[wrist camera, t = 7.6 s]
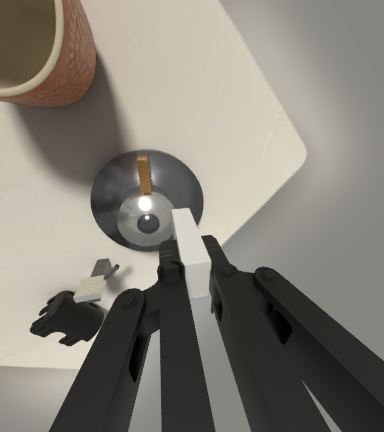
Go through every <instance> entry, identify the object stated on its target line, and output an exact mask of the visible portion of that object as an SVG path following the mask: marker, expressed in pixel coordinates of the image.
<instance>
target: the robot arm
mask: <svg viewBox="0 0 384 432" xmlns="http://www.w3.org/2000/svg"><path fill="white" fill-rule="evenodd" d="M172 221H173V234H174V240H168V241H162V242H161V244H160V246H159V264H160V265H159V266H158V269H157V273H158V281H157V282H156V283H155V284H154V285H153V286H152V287H150V288H148V289H146V290H144V291H141V290H140V289H136V288H132V289H128V290H125V291H123V292H122V293H121V294H119V295H118V296H117V298H116V299H115V301H114V303H113V305H112V307H111V309H110V311H109V313H108V315H107V317H106V319H105V321H104V323H103V325H102V327H101V329H100V331H99V333H98V335H97V337H96V339H95V341H94V343H93V345H92V347H91V349H90V351H89V353H88V355H87V357H86V359H85V360H84V362H83V364H82V366H81V368H80V370H79V372H78V375H77V376H76V379H75V381H74V382H73V384H72V386H71V389H70V390H69V392H68V394H67V396H66V398H65V400H64V402H63V404H62V406H61V408H60V410H59V412H58V414H57V416H56V418H55V421H54V423H53V424H52V426H51V428H50V430H49V432H128V429H129V425H130V420H131V416H132V412H133V408H134V404H135V400H136V396H137V392H138V388H139V383H140V379H141V375H142V371H143V367H144V362H145V358H146V354H147V350H148V346H149V342H150V338H151V334H152V333H154V332H156V331H157V330H159V329H160V364H161V411H162V412H161V416H162V432H215V427H214V422H213V417H212V412H211V406H210V401H209V396H208V391H207V386H206V381H205V376H204V371H203V366H202V361H201V356H200V351H199V346H198V341H197V336H196V330H195V325H194V321H193V315H192V310H191V305H190V299H196V298H202V297H207V296H209V291H210V293H211V296H212V303H211V313H213V310H214V313H215V317H216V320H217V323H218V326H219V329H220V333H221V336H222V339H223V342H224V346H225V349H226V352H227V355H228V358H229V362H230V365H231V368H232V371H233V374H234V377H235V381H236V384H237V387H238V390H239V394H240V397H241V400H242V403H243V406H244V409H245V413H246V416H247V419H248V422H249V426H250V429H251V432H331V430H330V429H329V427H328V425H327V424H326V422H325V420H324V418H323V416H322V415H321V413H320V411H319V409H318V408H317V406H316V404H315V403H314V401H313V399H312V397H311V396H310V394H309V392H308V390H307V389H306V387H305V385H306V386H307V387H308V389H309V390H310V391H311V392H312V393H313V395H314V396H315V398H316V399H317V400H318V401H319V403H320V404H321V405H322V407H323V408H324V409H325V410H326V412H327V413H328V414H329V415H330V417H331V418H332V419H333V421H334V422H335V423H336V425H337V426H338V427H339V429H340V430H341V431H342V432H384V361H383V360H382V359H381V358H379V357H378V356H377V355H376V354H374V353H373V352H372V351H371V350H370V349H368V348H367V347H366V346H365V345H364V344H363V343H361V342H360V341H359V340H358V339H357V338H356V337H354V336H353V335H352V334H351V333H349V332H348V331H347V330H346V329H345V328H344V327H342V326H341V325H340V324H339V323H338V322H336V321H335V320H334V319H333V318H332V317H330V316H329V315H328V314H327V313H326V312H325V311H323V310H322V309H321V308H320V307H319V306H317V305H316V304H315V303H314V302H312V301H311V300H310V299H309V298H308V297H307V296H305V295H304V294H303V293H302V292H301V291H300V290H298V289H297V288H296V287H295V286H293V285H292V284H291V283H290V282H289V281H288V280H286V279H285V278H284V277H283V276H282V275H280V274H279V273H278V272H276V271H275V270H274V269H271V268H268V267H259V268H257V269H256V271H255V273H249V272H242V271H239V270H238V269H237V268H236V267H235V266H233V265H232V264H230V263H229V262H228V260H227V258H226V256H225V254H224V252H223V251H222V249H221V247H220V245H219V243H218V241H217V240H216V238H214V237H213V236H212V235H206V236H201V235H200V233H199V230H198V228H197V226H196V223H195V221H194V218H193V216H192V214H191V211H190V209H189V208H182V209H172ZM301 379H302V380H301ZM302 381H303V382H304V383H305V385H304V384H303V382H302Z"/></svg>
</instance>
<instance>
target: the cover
mask: <svg viewBox="0 0 384 432" xmlns="http://www.w3.org/2000/svg"><path fill="white" fill-rule="evenodd" d="M172 209H174V207H173V204H172V201H171V199H170V197H169V195H168V194H167V193H166V192H165V191H164V190H163V189H161V188H160V187H157V186H154V185H152V189H151V193H142V192H141V186H140V185H139V186H136V187H134V188H132V189H131V190H130V191H128V192H127V194H126V195H125V197H124V199H123V201H122V205H121V208H120V211H119V215H118V219H117V225H118V229H119V231H120V233H121V235H122V236H123V237H124V238H125V239H126V240H127V241H129V242H131V243H133V244H135V245H139V246H154V245H158V244H160V243H161V242H162V241H166V240H167V239H168V238H170V237H171V235H172V234H173V221H172Z"/></svg>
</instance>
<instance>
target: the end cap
mask: <svg viewBox="0 0 384 432" xmlns="http://www.w3.org/2000/svg"><path fill="white" fill-rule="evenodd" d="M73 297H74V296H73V295H72V294H70V293H68V292H66V291H62V292H60V293H58V294H57V295H56V296H54V297H53V298H51V299H50V300H48V302H47V304H48V305H47V306H46V307H44V308H43V309H42V310H41V311H40V313H39V315H40V316H41V315H43V314H44V313H46V312H47V313H46V314H45V315H44V316H42V317H41V318H39V319H38V320H36V321H35V322H34V323H32V326H31V328H30V332H31V333H33V334H34V335H39V336H41V337H44V338H45V337H46V336H48V335H49V334H51V333H54V332H62V333H65V334H66V336H65V337H64V338H62V339H60V340H59V343H61V344H64V345H67V346H72V345H74V344H75V343H77V342H79V341H80V340H84V341H86V342H88V341H89V340H91V339H92V338H93V337H94V336H95V334H96V333H97V332H98V330H99V329H100V327H101V325H102V322H103V319H104V313H103V312H102V311H101V310H100V309H98V308H96V307H94V306H92V305H90V304H88V303H86V302H85V301H83V302H78V303H76V302H75V300H74V299H73Z"/></svg>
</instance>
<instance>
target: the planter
mask: <svg viewBox="0 0 384 432" xmlns="http://www.w3.org/2000/svg"><path fill="white" fill-rule="evenodd" d="M95 68H96V51H95V44H94V39H93V34H92V31H91V28H90V25H89V22H88V19H87V16H86V14H85V11H84V9H83V6H82V4H81V2H80V0H0V101H2V102H9V103H17V104H26V105H34V106H41V107H58V106H65V105H68V104H71V103H73V102H75V101H77V100H78V99H80V98H81V97H82V96H83V95H84V94H85V93H86V92H87V90H88V89H89V87H90V85H91V83H92V81H93V78H94V74H95Z"/></svg>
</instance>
